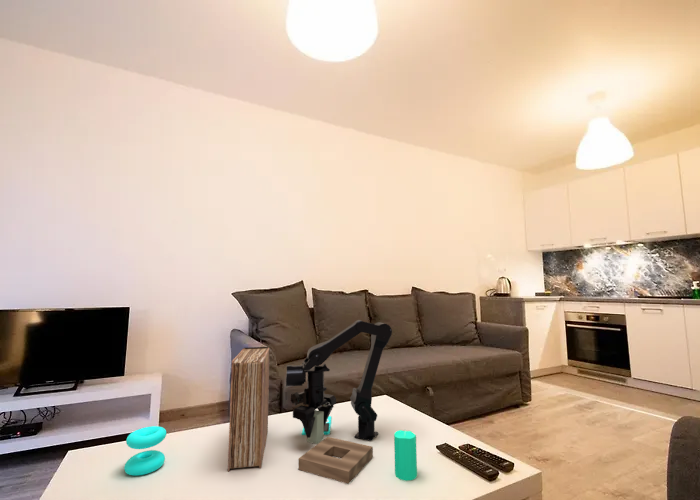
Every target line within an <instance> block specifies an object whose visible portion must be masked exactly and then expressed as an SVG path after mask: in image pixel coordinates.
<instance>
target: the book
mask: <svg viewBox="0 0 700 500" xmlns="http://www.w3.org/2000/svg"><path fill="white" fill-rule="evenodd" d="M230 370H231V373H230V374H231V375H230V376H231V377H230V398H229V399H230V401H229V402H230V403H229V404H230V405H229V427H228V450H227V451H228V454H227V456H228V458H227V472H230V470H231V469H241V468H252V467H259V469H262V465H263V461H264V456H265V449H266V444H267V438H268V432H269V398H270V397H269V393H270V391H269V390H270V346H263V347H262V346H261V347H259V346H258V347H244V348H242V349H241V350H240V352H238V354H237V355H236V356H235V357H234V358H233V359H232V360H231V369H230Z"/></svg>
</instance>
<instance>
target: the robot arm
mask: <svg viewBox="0 0 700 500" xmlns="http://www.w3.org/2000/svg"><path fill="white" fill-rule="evenodd" d="M361 333H364V334H368V335H371V336H370V343H371V346H370V348H369V352H368V356H367V359H366V363H365V366H364V370H363V373H362V377H361V381H360V383H359V385H358V386H357V387H353V388H352V393H351V396H350V397H349V399H350V405H351V407H352V408H353V411H354V412H355V414H357V416H358V417H357V419H358V420H357V427H358V429H357V431H358V432H357V433H356V434H355V435H354V438H357V439H361V440H366V441H373V440H374V439H375V438H376V437H377V436H378V435H379V432H378V431H375V428H376V427H375V422H376V421H377V418H378V414H377V412H376V411H375V410H374V408H373V407H372V401H373V400H372V399H373V397H372V395H373V393H372V390H373V386H374V382H375V379H376V376H377V372H378V368H379V364H380V362H381V358H382V354H383V351H384V349H385V347H386V346H387V345H388V344H389V341H390V339H391V337H392V333H393V329H392V327H391V326H390V325H389V324H387V323H385V322H380V321H379V322H375V323H372V322H367V321H363V320H361V319H357V320H355V321H354V322H353V323H351V324H350V325H349V326H347V327H345V328H344V329H343V330H341V331H340V332H338V333H337V334H335V335H334V336H332V337H331V338H330V339H328V340H326V341H323V342H320V343H318V344H315V345H313V346H311V347H310V348H308V350H307V354H306V357H305V359H304V360H303V361H302V363H301V364H298V365H295V364H294V365H292V364H288V365H286V373H285V387H297V386H298V387H299V386H300V387H302V386H303V385H304V384H305V383H306V382H307V387H306V388H304V389H303V391H302V392H298V391H297V392H293V393H291V395H290V403H291V404H294V406H297V405H299V404H301V405H299V406H297V407H295V408H294V409H293V410H292V418H293V419H296V420H299V421H300V422H301V423H302V427H303V428H304V430H305V433H306V435H305V436H306V438H307V437H308V438H310V436H311V433H312V429H313V425H314V421H315V417H314V410H317V411H323V412H324V426H325V424H326V421H327V419H328V417H329V416H330V414H331V413H332V410H333V408H335V407H334V406H335V405H337V398H336V396H335V395H334V394H328V393H327V394H326V393H325V391H327V386H325V373H326V372H330V371H331V369H330V367H328V366H327V364H326V363H325V361H327V359H329V358H330V356H331V355H332V354H333V353H334V352H335V351H336V350H337V349H339V348H341V347H342V346H343V345H345V344H346V343H347V342H349V341H351V340H353V339H354V337H356V336H358V335H359V334H361ZM306 376H307V377H306ZM306 379H307V381H306ZM302 404H303V405H302Z"/></svg>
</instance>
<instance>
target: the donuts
mask: <svg viewBox="0 0 700 500" xmlns="http://www.w3.org/2000/svg"><path fill="white" fill-rule="evenodd" d="M166 437H167V430H166V428H164V427H163V426H158V425H151V426H145V427H142V428H138V429H136V430H134V431H132V432H131V433H129V434H128V435H127V438H126V440H125V442H126V445H127V447H128V448H131V449H134V450H144V451H141V452H138V453H136V454H134V455H132V456H130V457H129V458H128V459H127V461H125V463H124V467H123V468H124V472H125V473H126V474H127V475H130V476H143V475H147V474H150V473H151V474H152V473H153V472H155V471H157V470H158V469H160V468H161V467H162V466H163V465H164V463H165V462H166V461H165V460H166V456H165V454H164V453H163V452H162V451H160V450H156V449H155V450H154V449H151V450H146V449H150V448H153V447H155V446H157V445H159V444H160V443H162V442H163V441H164V440H165V439H166Z"/></svg>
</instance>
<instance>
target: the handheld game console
mask: <svg viewBox="0 0 700 500" xmlns="http://www.w3.org/2000/svg"><path fill="white" fill-rule="evenodd" d="M331 424H332V416H331V415H329V417H328V419H327V421H326V424H325V426H324V436H328V435H330V433H331ZM301 435H302V436H306V433H305V430H304V427H303V428H302V431H301Z"/></svg>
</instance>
